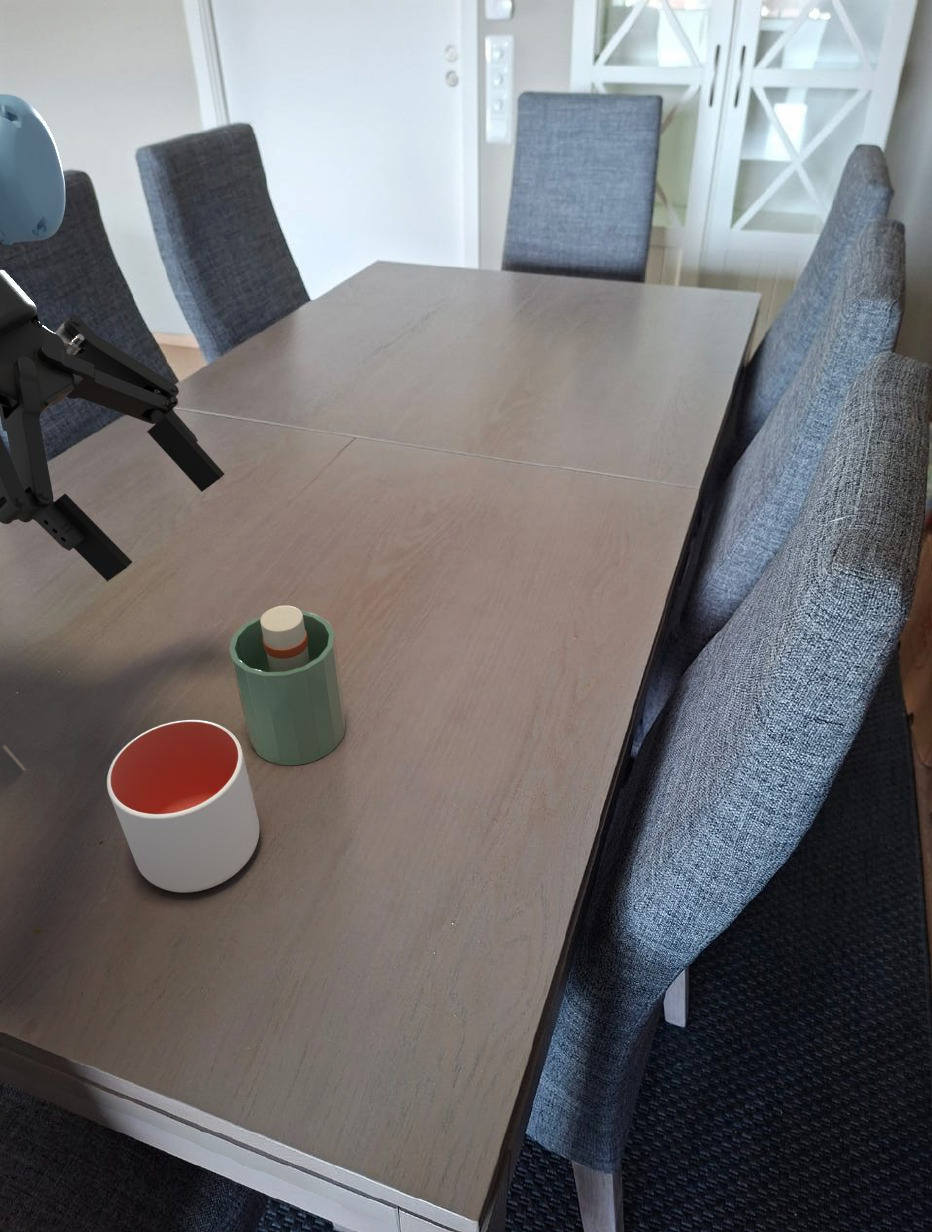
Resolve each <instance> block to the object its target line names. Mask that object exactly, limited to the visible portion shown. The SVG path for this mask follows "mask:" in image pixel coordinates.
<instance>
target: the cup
mask: <svg viewBox="0 0 932 1232" xmlns="http://www.w3.org/2000/svg"><path fill="white" fill-rule="evenodd" d="M240 743H241V742H240V741H239V740H238V738H237V737H236V736H235V735H234V733H232V732H231V731H230V730H229V729H228V728H226V727H224V726H222V725H220V724H217V723H214V722H211V721H206V720H201V719H186V720H184V719H183V720H177V721H172V722H168V723H163V724H160V725H157V726H155V727H153V728H150V729H148V730H146V731H144V732H142V733H141V734H139V735H138V736H137V737H135V738H133V739H131V741H129V742H127V744H126V745H125V746H124V747H122V749H121V750H120V751H119V752H118V753H117V755H115V757H114V759H113V760H112V762H111V764H110V766H109V770H108V773H107V777H106V789H107V793H108V795H109V799H110V801H111V803H112V806H113V809H114V811H115V813H116V816H117V818H118V821H119V824H120V827H121V830H122V831H123V834H124V837H125V840H126V842H127V844H128V847H129V849H130V853H131V855H132V858H133V860H134V863H135V865H136V867H137V869H138V871H139V872H140V874H141V875H142V876H143V878H144V879H146V880H147V881H148V882H149V883H150V884H152V885H154V886H155V887H158V888H159V889H162V890H165V891H168V892H172V893H173V892H174V893H185V894H186V893H194V892H201V891H204V890H209V889H211V888H214V887H216V886H219V885H221V884H223V883H225V882H226V881H228V880H229V879H231V878H232V877H234V876H235V875H236V874H237V873H239V872H240V871H241V870H242V869H243V868H244V866H245V865H246V864H247V863H248V862H249V860H250V859H251V857H252V856H253V854H254V852H255V850H256V848H257V845H258V842H259V837H260V821H259V816H258V811H257V808H256V803H255V800H254V796H253V791H252V786H251V783H250V778H249V774H248V771H247V770H248V769H247V765H246V762H245V756H244V752H243V748H242V746H241V744H240Z"/></svg>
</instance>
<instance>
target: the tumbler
mask: <svg viewBox="0 0 932 1232" xmlns="http://www.w3.org/2000/svg"><path fill="white" fill-rule="evenodd" d="M300 611H301V613H302V615H303V621H304V627H305V630H306V633H307V639H308V645H307V647H308V653H309V659H310V663H308V664H307V665H305V666H303V667H300V668H296V669H292V670H289V671H285V672H270V669H269V664H268V659H267V654H266V652H265V649H264V645H263V633H262V628H261V623H260V620H261V617H262V615H263V614H261V615H258V616H257V617H254V618H253V619H251V620H249V621H248V622H245V623H244V624H243V625H242V626H241V627H240V628H239V629H238V630H237V631H236V632H235V633H234V634H233V635H232V638H231V641H230V644H229V647H228V651H229V656H230V660H231V664H232V669H233V673H234V678H235V682H236V687H237V691H238V695H239V700H240V704H241V708H242V713H243V717H244V722H245V726H246V730H247V735H248V737H249V740H250V745H251V747H252V749H253V750H254V752H255V753H256V754H257V755H258V756H259V757H261V758H262V759H263V760H265V761H267V762H269V763H272V764H276V765H280V766H301V765H306V764H310V763H312V762H315V761H318V760H320V759H322V758H324V757H326V756H327V755H329V754H330V753H331V752H333V751H334V750H335V749H336V748H337V747H338V745H339V744H340V743H341V742H342V740H343V738H344V736H345V732H346V713H345V712H346V711H345V704H344V696H343V689H342V681H341V672H340V663H339V658H338V651H337V650H338V649H337V642H336V635H335V631H334V630H333V627H332V626H331V624H330V622H329V621H327V620H326V619H324V618H323V617H321V616H320V615H318V614H316V613H312V612H308V611H304V610H300Z"/></svg>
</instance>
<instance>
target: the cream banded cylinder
mask: <svg viewBox="0 0 932 1232" xmlns="http://www.w3.org/2000/svg"><path fill="white" fill-rule="evenodd" d="M301 611H302V610H300V609H299V608H297V607H295V606H291V605H278V606H274V607H272V608H270V609H268V610H266V611H265V612H264V613H263V614H261V615H262V617H261V620H260V623H261V628H262V633H263V645H264V649H265V652H266V654H267V659H268V664H269V669H270V672H285V671H289V670H292V669H296V668H300V667H303V666H305V665H307V664H308V663H310V659H309V653H308V647H307V645H308V639H307V633H306V630H305V627H304V621H303V615H302V613H301Z"/></svg>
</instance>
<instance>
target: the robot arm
mask: <svg viewBox="0 0 932 1232" xmlns="http://www.w3.org/2000/svg"><path fill="white" fill-rule="evenodd" d="M60 158H61V157H60V155H59V151H58V148H57V145H56V142H55V140H54V137H53V135H52V133H51V131H50V129H49V127H48V125H47V123H46V121H45V120H44V119H43V117H42V116H41V114H40V112H38V111H37V110H36V109H35V107H34V106H33V105H31V104H30V103H29V102H28V101H26V100H24V99H23V98H21V97H19V96H17V95H12V94H9V93H8V94H5V93H4V94H3V93H0V243H1V244H2V245H3V246H12V245H14V243H27V242H36V241H38V242H39V241H44V240H45V241H46V240H47V239H50V238H52V237H53V236H54V235H55V234H56V233H57V232H58V230H59V228H60V227H61V225H62V222H63V219H64V217H65V216H64V215H65V210H66V184H65V183H66V182H65V176H64V171H63V165H62V163H61V159H60ZM156 390H157V391H156ZM179 394H180V390H179V387H178V386H177V385H176V384H175V383H174V382H172V381H170V380H169V379H167V378H166V377H164V376H163V375H161V374H159V373H158V372H156V371H155V370H153V369H151V368H150V367H149V366H146V365H145V364H144V363H143V362H140V361H139V360H138V359H135V358H134V357H132V356H131V355H129V353H126V352H125V351H123V350H121V349H120V348H118V347H117V346H115V345H113V344H112V343H110V342H109V341H107V340H105V339H104V338H102V337H101V336H99V335H98V334H97V333H96V332H95V331H93V330H92V328H90V327H89V325H87V324H86V322H84V321H83V320H82V319H81V318H80V317H79V316H77V315H75V314H71V315H69V316H68V317H67V318H66V319H65V320H64V322H63V323H62V324H61V325H60V326H59V327H58V328H57V329H56V330H55V332H54V331H52V330H50V329H48V328H47V327H46V326H45V325H43V324H42V322H41V321H40V319H39V316H38V309H37V306H36V304H35V303H34V302H33V301H32V300H31V298H30V297H29V296H28V295H27V294H26V293H25V292H24V291H23V289H22V288H21V287H20V286H19V285H18V284H17V283H16V282H15V281H14V279H13V278H11V277H10V275H9V274H8V273H7V272H6V270H3V269H0V422H1V428H2V431H3V432H6V436H7V443H8V447H9V448H8V449H9V451H8V449H7V446H6V445H5V443H4V440H3V438H2V435H1V434H0V524H4V525H10V524H12V522H14V521H17V520H18V521H20V522H22V523H30V522H32V520H33V521H35V523H37V524H38V525H39V526H40V527H41V528H42V529H43V530H44V531H45V532H46V533H47V534H48V535H49V536H50V537H52V539H53V540H54V541H56V543H57V544H58V545H59V546H60V547H61V548H63V549H65V550H67V551H68V552H70V551H71V550H73V549H74V550H75V552H77V553H78V554H79V555H80V556H81V557H82V558H83V559H84V560H85V561H86V562H87V563H88V564H89V565H90V566H91V568H93V569H94V570H95V572H97V573H98V574H99V575H100V576H101V577H102V578H103V579H104V580H105V581H106V582H108V583H109V581H111V580H112V579H113V578H115V577H117V576H118V575H119V574H120V573H122V572H123V571H124V570H126V569H127V568H128V567H129V566H130V565H132V563H133V560H131V558H129V557H128V556H127V554H126V553H125V552H124V551H123V550H122V549H121V548H120V547H119V546H118V545H117V544H116V543H115V542H114V541H113V540H112V539H111V538H110V537H109V536H108V535H107V534H106V532H104V531H103V530H102V529H101V528H100V526H98V525H97V524H96V523H95V522H94V520H92V519H91V518H90V516H88V515H87V514H86V513H85V512H84V510H82V508H81V507H80V506H78V505H77V503H76V502H75V501H74V500H73V499H72V498H71V497H70V496H69V495H68V494H67V493H64V494H62V495H61V496H60V497H59V498H57V499H56V500H55V501H54V492H53V486H52V481H51V476H50V471H49V464H48V460H47V453H46V449H45V444H44V438H43V433H42V427H41V422H40V421H41V420H40V419H41V415H42V414H44V412H46V411H47V409H49V407H51V406H56V405H58V404H59V403H61V402H63V400H65V398H67V399H70V400H71V399H72V400H75V399H83V400H84V401H88V402H90V403H93V404H95V405H99V406H101V407H104V408H107V409H110V410H112V411H115V412H118V413H120V414H123V415H126V416H128V417H131V418H134V419H137V420H140V421H142V422H145V423H148V424H151V425H153V426H152V427H150V429H148V430H147V431H146V432H147V434H148V435H149V436H150V437H151V438H152V439H153V440H154V441H155V443H157V445H158V446H159V447H160V448H161V449H162V450H163V451H164V453H166V455H167V456H168V457H169V458H170V459H171V460H172V461H173V463H175V464H176V466H177V467H178V468H179V469H180V470H181V471H182V472H183V473H184V474H185V476H186V477H187V478H188V479H189V480H190V481H191V482H192V483H193V484H194V485H195V487H196V488H197V489H198V490H199V491H200V492H201V493H202V492H204V491H205V490H207V489H208V488H210V487H211V486H212V485H213V484H215V483H216V482H218V481H219V480H220V479H221V478H222V477H224V476H225V472H224V471H223V470H222V469H221V468H220V467H219V466H218V465H217V463H216V462H215V461H214V460H213V459H212V458H211V457H210V456H209V454H208V453H207V452H206V451H205V450H204V449H203V448H202V446H201V445H200V444H199V443H198V442H199V440H198V438H197V436H196V434H195V433H194V432H193V431H192V430H191V429H190V428H189V426H187V425H186V423H185V422H184V421H183V420H182V419H181V417H179V415H178V414H177V413H176V412H175V410H174V408H176V407H177V406H178V405H179V399H178V397H177V396H178V395H179ZM9 452H10V453H9Z"/></svg>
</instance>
